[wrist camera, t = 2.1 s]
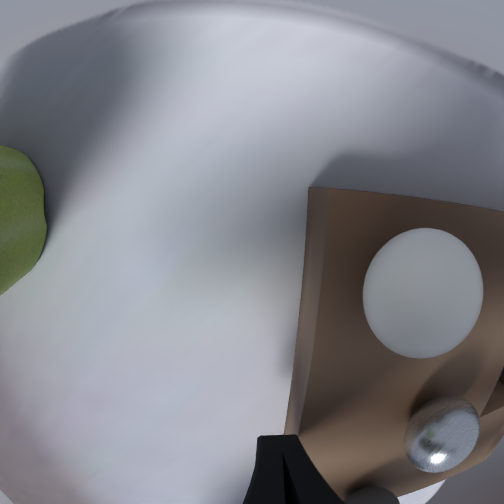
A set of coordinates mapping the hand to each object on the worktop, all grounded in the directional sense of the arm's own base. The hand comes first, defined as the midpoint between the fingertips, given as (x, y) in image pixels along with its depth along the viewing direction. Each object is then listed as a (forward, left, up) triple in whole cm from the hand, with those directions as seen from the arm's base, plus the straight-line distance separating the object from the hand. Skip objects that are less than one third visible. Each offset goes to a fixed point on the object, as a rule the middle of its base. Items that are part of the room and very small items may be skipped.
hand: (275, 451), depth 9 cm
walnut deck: (0, -10, -3) cm, 10 cm away
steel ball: (0, -7, +1) cm, 7 cm away
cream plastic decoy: (+6, -4, +1) cm, 7 cm away
